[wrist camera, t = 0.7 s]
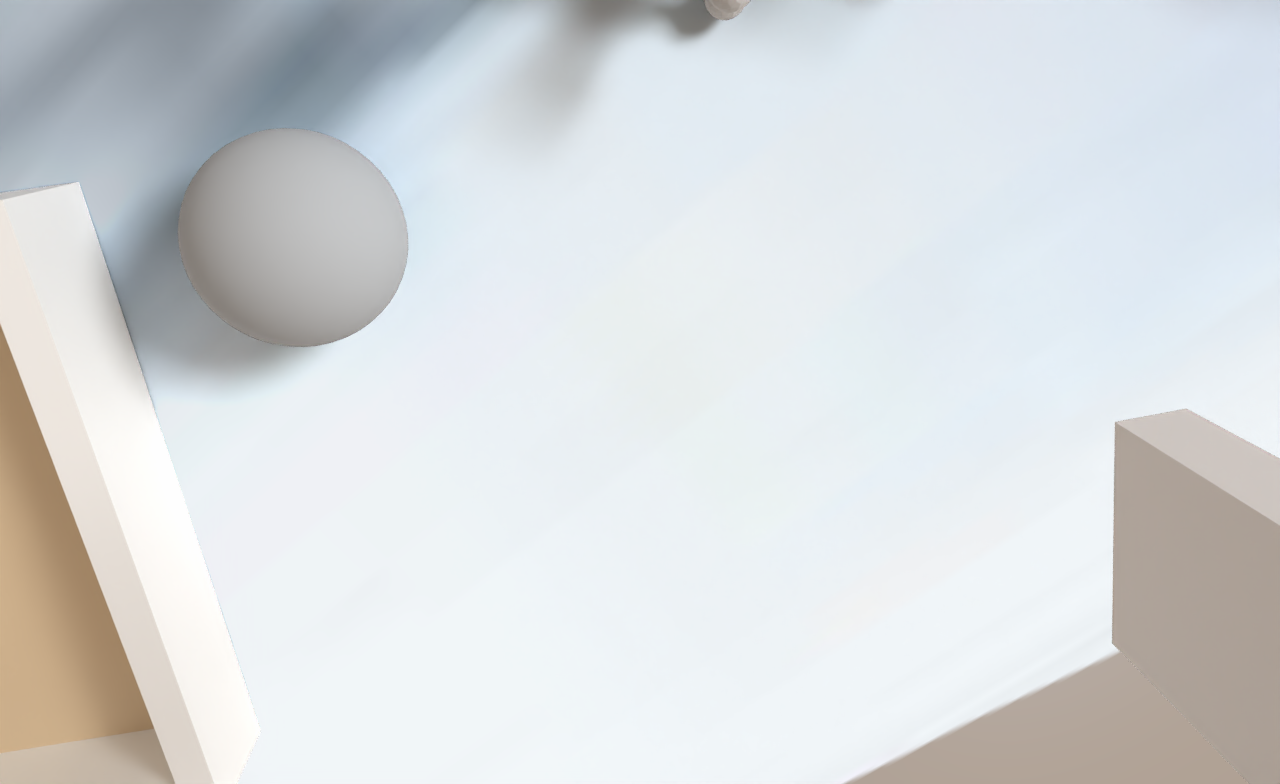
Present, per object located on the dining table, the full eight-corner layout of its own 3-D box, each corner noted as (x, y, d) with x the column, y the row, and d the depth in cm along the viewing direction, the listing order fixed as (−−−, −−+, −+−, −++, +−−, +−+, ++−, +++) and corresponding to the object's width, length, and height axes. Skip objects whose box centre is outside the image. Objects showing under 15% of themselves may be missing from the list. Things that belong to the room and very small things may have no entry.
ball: (198, 136, 27) (104, 154, 22) (399, 109, 28) (358, 119, 22) (252, 329, 29) (180, 390, 24) (439, 302, 30) (411, 356, 24)
